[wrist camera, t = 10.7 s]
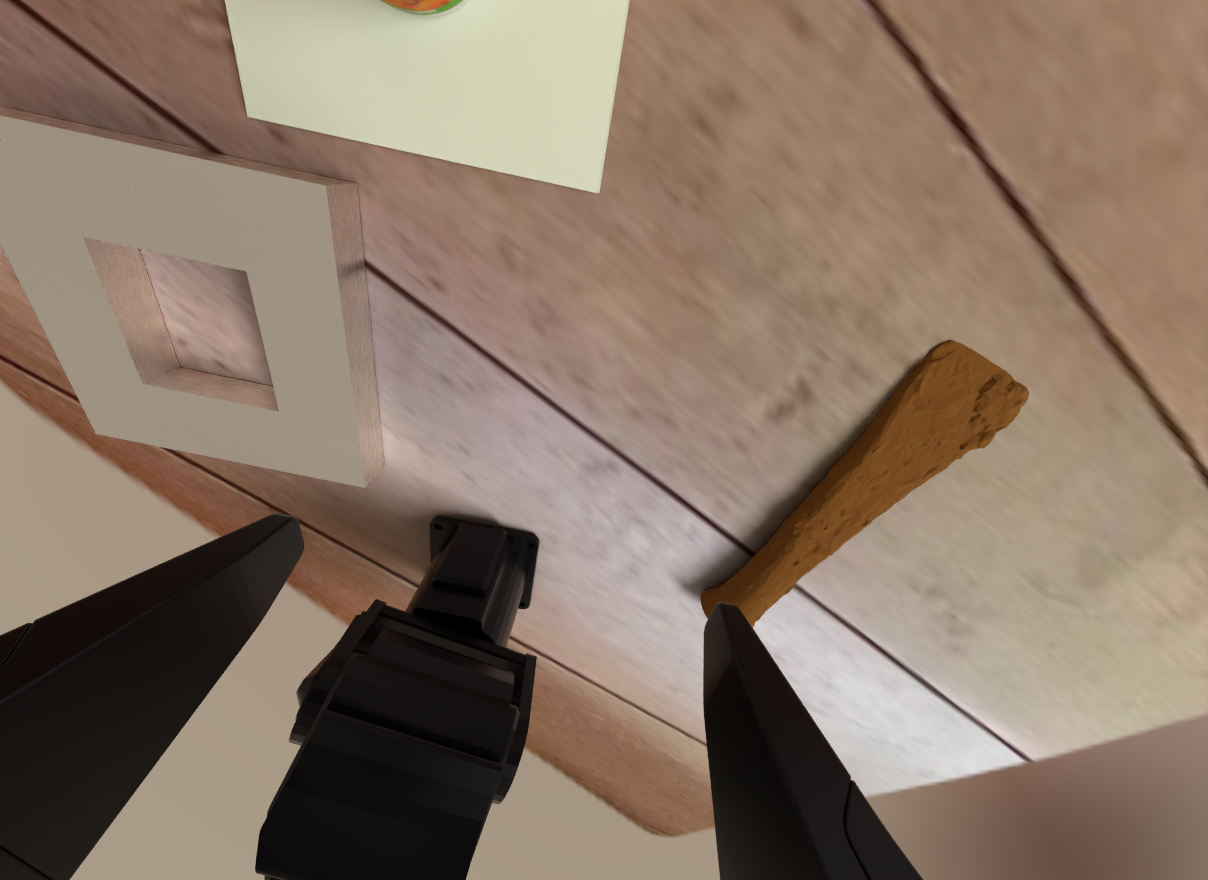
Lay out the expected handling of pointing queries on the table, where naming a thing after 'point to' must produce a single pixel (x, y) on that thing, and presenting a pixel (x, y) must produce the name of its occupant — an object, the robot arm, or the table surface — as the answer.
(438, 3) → the supplement bottle
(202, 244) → the post foot
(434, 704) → the robot arm
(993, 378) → the primitive tool
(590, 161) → the sage pad
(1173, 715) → the table surface
